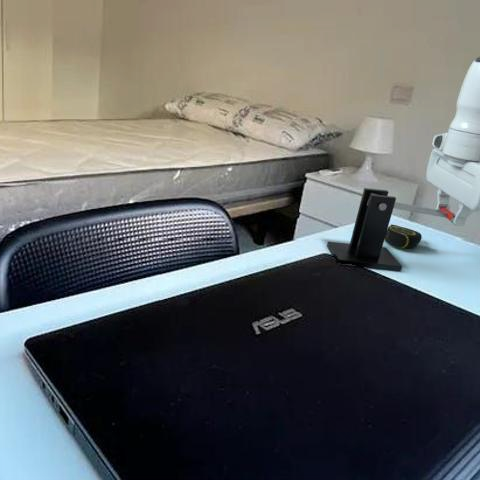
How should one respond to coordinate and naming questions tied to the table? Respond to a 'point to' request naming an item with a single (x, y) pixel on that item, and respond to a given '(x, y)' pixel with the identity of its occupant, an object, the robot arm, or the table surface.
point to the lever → (422, 209)
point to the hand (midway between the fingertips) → (448, 218)
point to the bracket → (369, 234)
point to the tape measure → (402, 237)
